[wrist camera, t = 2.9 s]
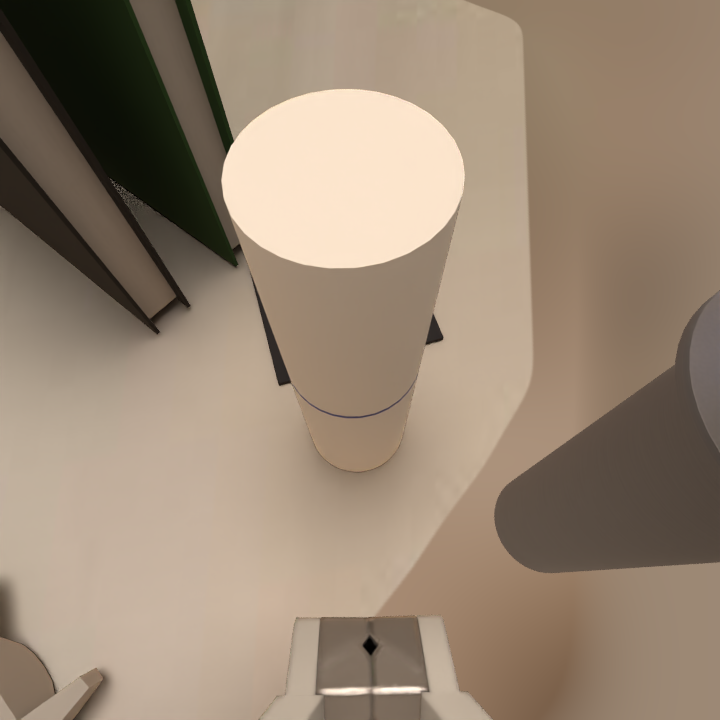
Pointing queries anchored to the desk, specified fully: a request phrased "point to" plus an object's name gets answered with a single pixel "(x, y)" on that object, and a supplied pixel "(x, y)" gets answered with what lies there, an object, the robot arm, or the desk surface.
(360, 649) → the robot arm
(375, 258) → the cylindrical container
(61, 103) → the ring binders
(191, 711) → the desk surface
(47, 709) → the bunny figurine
